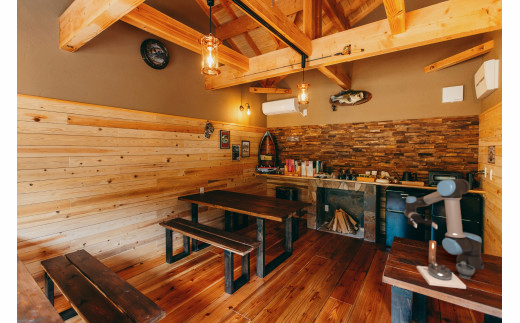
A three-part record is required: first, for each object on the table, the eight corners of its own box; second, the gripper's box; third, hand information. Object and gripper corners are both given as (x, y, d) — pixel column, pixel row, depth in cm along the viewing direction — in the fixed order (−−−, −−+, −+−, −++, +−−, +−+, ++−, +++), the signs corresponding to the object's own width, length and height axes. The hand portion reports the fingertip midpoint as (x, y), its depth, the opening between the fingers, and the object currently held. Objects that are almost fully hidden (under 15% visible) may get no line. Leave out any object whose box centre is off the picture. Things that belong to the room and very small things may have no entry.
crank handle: (456, 281, 149) (457, 253, 148) (433, 279, 152) (434, 251, 151) (440, 265, 168) (441, 240, 167) (420, 264, 171) (421, 239, 170)
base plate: (448, 271, 165) (448, 268, 164) (465, 288, 145) (466, 285, 145) (416, 268, 169) (416, 265, 169) (429, 284, 150) (429, 281, 150)
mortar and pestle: (458, 270, 165) (459, 254, 164) (476, 277, 157) (477, 260, 156) (453, 276, 159) (453, 259, 158) (470, 283, 151) (471, 265, 150)
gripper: (431, 222, 194) (445, 232, 173) (398, 221, 200) (407, 230, 179) (432, 214, 193) (445, 222, 173) (398, 212, 199) (408, 220, 179)
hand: (426, 226), depth 176 cm, fingers open, 13 cm apart
